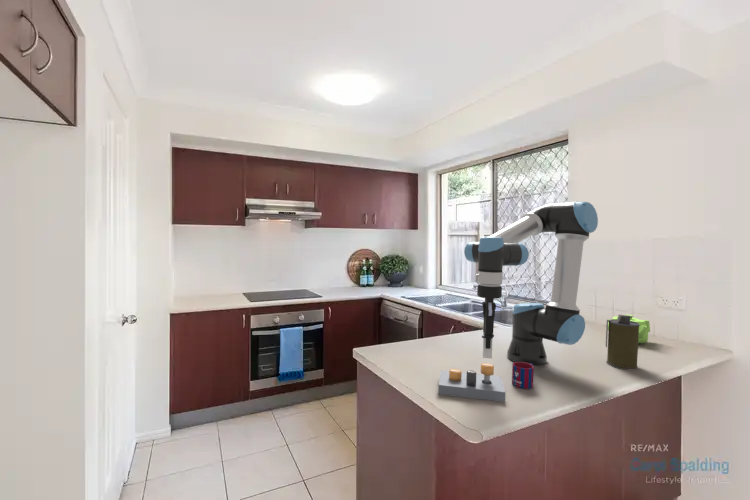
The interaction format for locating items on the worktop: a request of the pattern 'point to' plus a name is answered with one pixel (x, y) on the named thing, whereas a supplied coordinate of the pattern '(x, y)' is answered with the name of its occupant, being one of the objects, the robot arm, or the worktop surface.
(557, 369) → the worktop surface
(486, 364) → the knob
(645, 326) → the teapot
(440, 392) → the mount
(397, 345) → the worktop surface
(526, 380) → the mug
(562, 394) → the worktop surface
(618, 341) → the canister
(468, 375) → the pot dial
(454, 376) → the knob
